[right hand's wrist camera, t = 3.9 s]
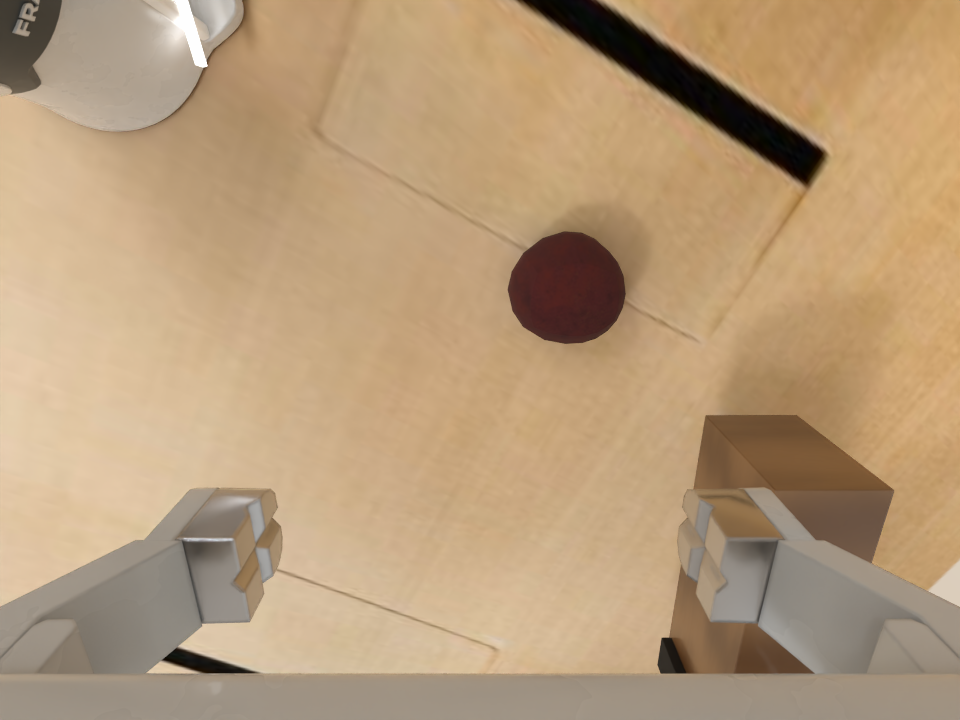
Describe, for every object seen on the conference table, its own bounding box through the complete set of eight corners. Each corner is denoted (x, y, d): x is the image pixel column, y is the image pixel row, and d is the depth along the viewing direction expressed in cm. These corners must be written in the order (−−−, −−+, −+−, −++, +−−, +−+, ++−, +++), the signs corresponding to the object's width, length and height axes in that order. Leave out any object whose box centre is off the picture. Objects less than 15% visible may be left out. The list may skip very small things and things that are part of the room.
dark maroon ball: (607, 324, 40) (633, 356, 33) (505, 326, 40) (510, 358, 33) (614, 225, 37) (643, 238, 31) (505, 227, 37) (511, 241, 31)
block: (705, 415, 33) (775, 490, 25) (796, 414, 33) (895, 490, 26) (662, 675, 41) (706, 795, 33) (737, 675, 41) (798, 795, 33)
